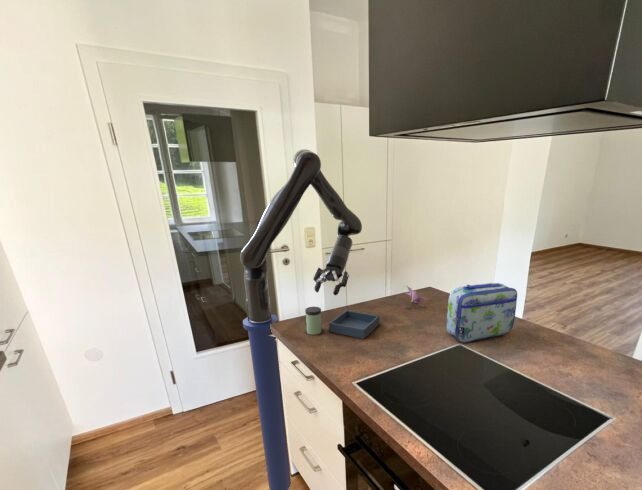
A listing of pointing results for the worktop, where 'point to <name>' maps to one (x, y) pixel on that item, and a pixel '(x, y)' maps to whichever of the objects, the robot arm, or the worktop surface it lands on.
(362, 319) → the blue square tray
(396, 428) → the worktop surface
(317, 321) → the food flask
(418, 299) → the lily
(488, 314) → the lunch box
